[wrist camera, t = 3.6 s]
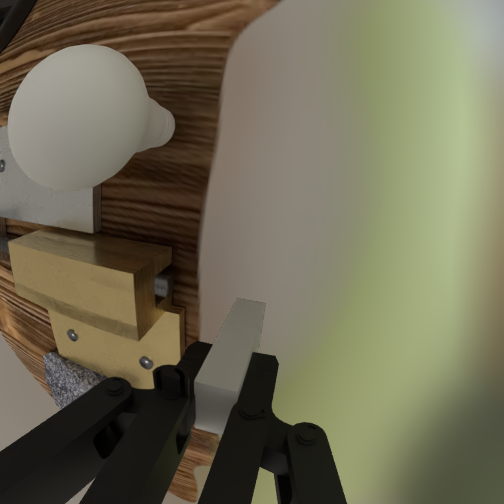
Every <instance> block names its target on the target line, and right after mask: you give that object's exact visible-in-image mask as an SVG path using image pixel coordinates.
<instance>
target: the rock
mask: <svg viewBox="0 0 504 504" xmlns="http://www.w3.org/2000/svg"><path fill="white" fill-rule="evenodd" d="M43 360H44V364H45V374H46V383H47V384H48V385H49V387H50V389H51V393H52V396H53V398H54V400H55V403H56V405H57V406H58V407H59V408H60V409H63V408H64V407H66V406H67V405H68V404H70V403H71V402H73V401H74V400H76V399H77V398H78V397H80V396H81V395H83V394H84V393H85V392H87V391H88V390H90V389H91V388H93V387H94V386H95V385H97V384H98V383H100V382H101V381H102V380H104V379H106V378H109V377H106V376H104V375H101V374H99V373H97V372H94V371H92V370H90V369H88V368H85V367H83V366H81V365H79V364H77V363H75V362H72V361H70V360H68V359H66V358H64V357H62V356H60V354H59V351H55V352H51V353H48V354H47V355H44V356H43Z"/></svg>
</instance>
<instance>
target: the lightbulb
mask: <svg viewBox="0 0 504 504" xmlns="http://www.w3.org/2000/svg"><path fill="white" fill-rule="evenodd" d="M174 130H175V120H174V117H173V115H172V113H171V112H170V111H168V110H167V109H165V108H163V107H161V106H160V105H159V104H158V103H157V102H156V101H155V100H153V99H151V98H149V96H148V93H147V90H146V86H145V83H144V80H143V77H142V76H141V74H140V72H139V71H138V69H137V68H136V67H135V66H134V65H133V63H132V62H131V61H130V60H129V59H128V58H126V57H125V56H124V55H123V54H121V53H119V52H117V51H115V50H113V49H111V48H109V47H106V46H100V45H91V44H85V45H77V46H71V47H67V48H65V49H62V50H60V51H58V52H56V53H54V54H51V55H49V56H48V57H47V58H45V59H44V60H43V61H41V62H40V63H39V64H37V65H36V66H35V67H34V68H33V69H32V70H31V71H30V72H29V73H28V74H27V76H26V77H25V78H24V80H23V81H22V83H21V85H20V86H19V88H18V90H17V92H16V94H15V96H14V98H13V101H12V104H11V107H10V111H9V116H8V138H9V144H10V148H11V151H12V154H13V157H14V159H15V161H16V162H17V164H18V165H19V167H20V168H21V169H22V170H23V172H24V173H25V174H26V175H27V176H28V177H30V178H31V179H32V180H33V181H35V182H36V183H38V184H40V185H41V186H44V187H47V188H51V189H54V190H58V191H79V190H84V189H88V188H91V187H94V186H96V185H98V184H100V183H102V182H103V181H105V180H107V179H109V178H110V177H112V176H114V175H115V174H116V173H117V172H118V171H120V170H121V169H122V168H123V167H124V166H125V164H126V163H127V162H128V161H129V160H130V158H131V157H132V156H133V155H134V154H135V152H141V151H145V150H147V149H149V148H154V147H159V146H162V145H164V144H166V143H167V142H168V141H169V140H170V139H171V137H172V136H173V133H174Z"/></svg>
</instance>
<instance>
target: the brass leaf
mask: <svg viewBox="0 0 504 504" xmlns="http://www.w3.org/2000/svg"><path fill="white" fill-rule="evenodd" d="M8 246H9V253H10V260H11V266H12V272H13V277H14V282H15V287H16V292H17V295H19V296H21V297H23V298H25V299H28V300H30V301H32V302H34V303H36V304H39V305H41V306H43V307H45V308H48V313H49V317H50V321H51V325H52V329H53V333H54V337H55V341H56V344H57V348H58V351H59V354H60V356H62V357H64V358H66V359H68V360H70V361H72V362H75V363H77V364H79V365H81V366H83V367H85V368H88V369H90V370H92V371H94V372H97V373H99V374H101V375H104V376H106V377H121V378H124V379H126V380H127V381H128V382H129V383H130V384H131V386H132V387H134V388H138V389H153V388H154V381H153V373H152V371H153V370H154V369H155V368H157V367H159V366H162V365H168V364H171V365H177V364H178V362H179V360H180V359H181V357H182V356H183V355H184V353H185V308H183V307H178V306H174V305H172V294H171V296H170V297H169V298H166V297H162V296H158V295H155V276H156V275H157V274H158V273H160V272H161V271H162V270H163V269H165V268H166V267H167V266H168V265H170V264H171V263H172V247H168V246H162V245H156V244H150V243H145V242H139V241H133V240H127V239H121V238H116V237H110V236H104V235H98V234H93V233H87V232H81V231H76V230H70V229H64V228H59V227H53V226H49V227H46V228H43V229H40V230H38V231H35V232H32V233H30V234H27V235H24V236H22V237H19V238H16V239H14V240H11V241H9V242H8Z"/></svg>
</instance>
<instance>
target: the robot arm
mask: <svg viewBox="0 0 504 504" xmlns="http://www.w3.org/2000/svg"><path fill="white" fill-rule="evenodd" d="M35 1H36V0H0V52H1V51H2V50H3V49H4V47H5V46H6V45H7V44H8V42H9V41H10V40H11V38H12V37H13V36H14V34H15V33H16V31H17V30H18V28H19V27H20V25H21V24H22V22H23V21H24V19H25V18H26V16H27V14H28V13H29V11H30V9H31V8H32V6H33V4H34V2H35ZM264 310H265V303H262V302H257V301H251V300H245V299H240V298H237V299H236V301H235V303H234V305H233V307H232V309H231V311H230V313H229V315H228V317H227V319H226V320H225V322H224V325H223V326H222V328H221V330H220V332H219V334H218V336H217V338H216V340H215V342H214V344H209V343H204V342H200V341H196V342H194V343H193V344H191V345H189V346H188V348H187V349H186V351H185V353H184V355H183V356H182V357H181V359H180V360H179V362H178V364H177V365H171V364H168V365H162V366H159V367H157V368H155V369H154V370H153V371H152V373H153V381H154V388H153V389H138V388H132V387H131V384H130V383H129V382H128V381H127V380H126V379H124V378H121V377H109V378H106V379H104V380H102V381H101V382H100V383H98V384H97V385H95V386H94V387H93V388H91V389H90V390H88V391H87V392H85V393H84V394H83V395H81V396H80V397H78V398H77V399H76V400H74V401H73V402H71V403H70V404H68V405H67V406H66V407H64V408H63V409H61V410H60V411H59V412H57V413H56V414H54V415H53V416H51V417H50V418H48V419H47V420H46V421H44V422H43V423H41V424H40V425H38V426H37V427H35V428H34V429H33V430H31V431H30V432H29V433H27V434H26V435H24V436H22V437H21V438H19V439H18V440H17V441H15V442H14V443H12V444H11V445H9V446H8V447H6V448H5V449H3V450H2V451H0V504H65V503H66V502H67V501H69V500H70V499H71V498H72V497H73V496H74V495H76V494H77V493H78V492H79V491H80V490H82V489H83V488H84V487H85V486H86V485H87V484H89V483H90V482H91V481H92V480H93V479H94V478H95V477H96V478H95V480H94V481H93V483H92V484H91V486H90V487H89V489H88V491H87V492H86V494H85V495H84V497H83V498H82V500H81V501H80V503H79V504H162V502H163V499H164V497H165V495H166V493H167V491H168V488H169V486H170V484H171V482H172V479H173V477H174V475H175V473H176V471H177V468H178V466H179V464H180V462H181V459H182V457H183V455H184V453H185V450H186V448H187V446H188V443H189V441H190V439H191V429H192V427H193V424H194V422H195V428H197V429H201V430H205V431H209V432H213V433H217V434H221V435H222V438H221V440H220V443H219V446H218V449H217V452H216V455H215V457H214V460H213V463H212V466H211V469H210V471H209V474H208V477H207V480H206V482H205V485H204V488H203V490H202V493H201V496H200V498H199V501H198V504H251V501H252V497H253V492H254V489H255V484H256V480H257V475H258V471H259V467H261V468H263V469H266V470H268V471H270V472H272V473H274V479H275V486H276V494H277V501H278V504H347V502H346V499H345V495H344V492H343V489H342V486H341V482H340V479H339V475H338V472H337V469H336V465H335V462H334V459H333V455H332V452H331V449H330V445H329V442H328V439H327V436H326V434H325V432H324V430H323V429H322V428H320V427H319V426H318V425H315V424H313V423H307V422H303V423H297V424H295V425H294V426H292V425H289V424H287V423H284V422H283V421H281V420H279V419H278V418H277V417H276V416H275V415H274V413H273V411H272V400H273V394H274V389H275V383H276V377H277V372H278V366H279V363H278V361H277V359H276V356H272V355H267V354H261V353H257V352H258V348H259V344H260V338H261V331H262V324H263V318H264Z"/></svg>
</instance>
